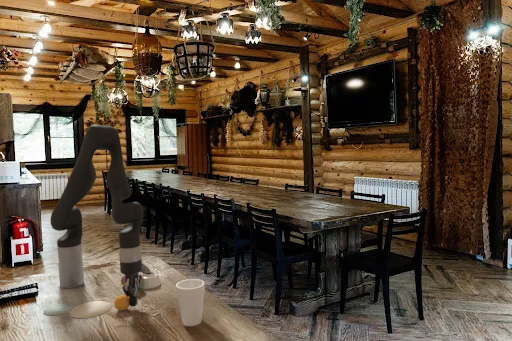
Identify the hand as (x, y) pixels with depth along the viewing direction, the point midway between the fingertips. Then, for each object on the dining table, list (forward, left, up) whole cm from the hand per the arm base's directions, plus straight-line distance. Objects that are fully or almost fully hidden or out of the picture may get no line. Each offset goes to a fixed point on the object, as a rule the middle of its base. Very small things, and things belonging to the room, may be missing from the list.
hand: (133, 305), depth 150 cm
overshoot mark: (-23, -15, -1) cm, 28 cm away
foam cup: (+25, +4, -2) cm, 25 cm away
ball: (-3, -3, +1) cm, 4 cm away
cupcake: (-15, +11, -2) cm, 19 cm away
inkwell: (-19, +18, -2) cm, 26 cm away
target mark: (-13, -9, -1) cm, 16 cm away
